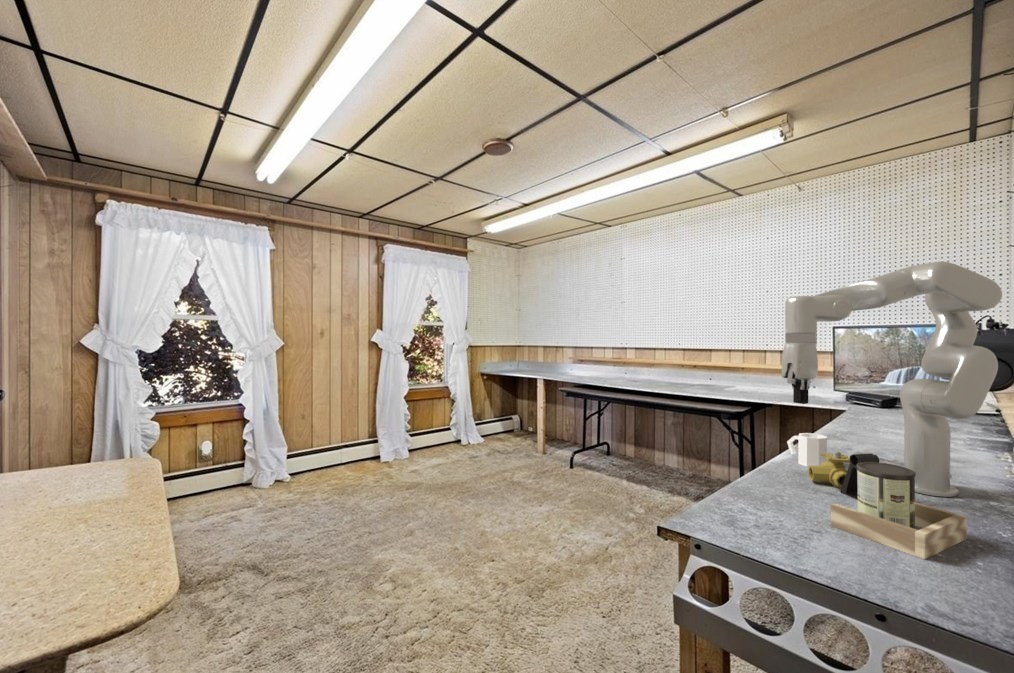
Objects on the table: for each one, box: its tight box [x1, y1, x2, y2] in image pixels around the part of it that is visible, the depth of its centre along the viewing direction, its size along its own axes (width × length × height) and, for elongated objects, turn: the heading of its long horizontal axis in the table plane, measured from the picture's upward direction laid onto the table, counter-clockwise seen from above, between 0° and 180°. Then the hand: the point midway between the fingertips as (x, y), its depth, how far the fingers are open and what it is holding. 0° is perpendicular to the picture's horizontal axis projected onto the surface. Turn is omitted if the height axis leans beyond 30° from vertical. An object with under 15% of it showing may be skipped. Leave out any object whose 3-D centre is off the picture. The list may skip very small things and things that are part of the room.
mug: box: [786, 432, 828, 468], centre depth 150 cm, size 12×9×10 cm
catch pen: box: [830, 501, 968, 560], centre depth 99 cm, size 19×17×5 cm
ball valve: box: [807, 450, 850, 489], centre depth 130 cm, size 13×10×10 cm
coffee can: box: [857, 462, 916, 529], centre depth 101 cm, size 10×10×14 cm
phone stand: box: [839, 453, 880, 501], centre depth 119 cm, size 9×6×12 cm, turn 5°
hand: (800, 403), depth 125 cm, fingers closed
